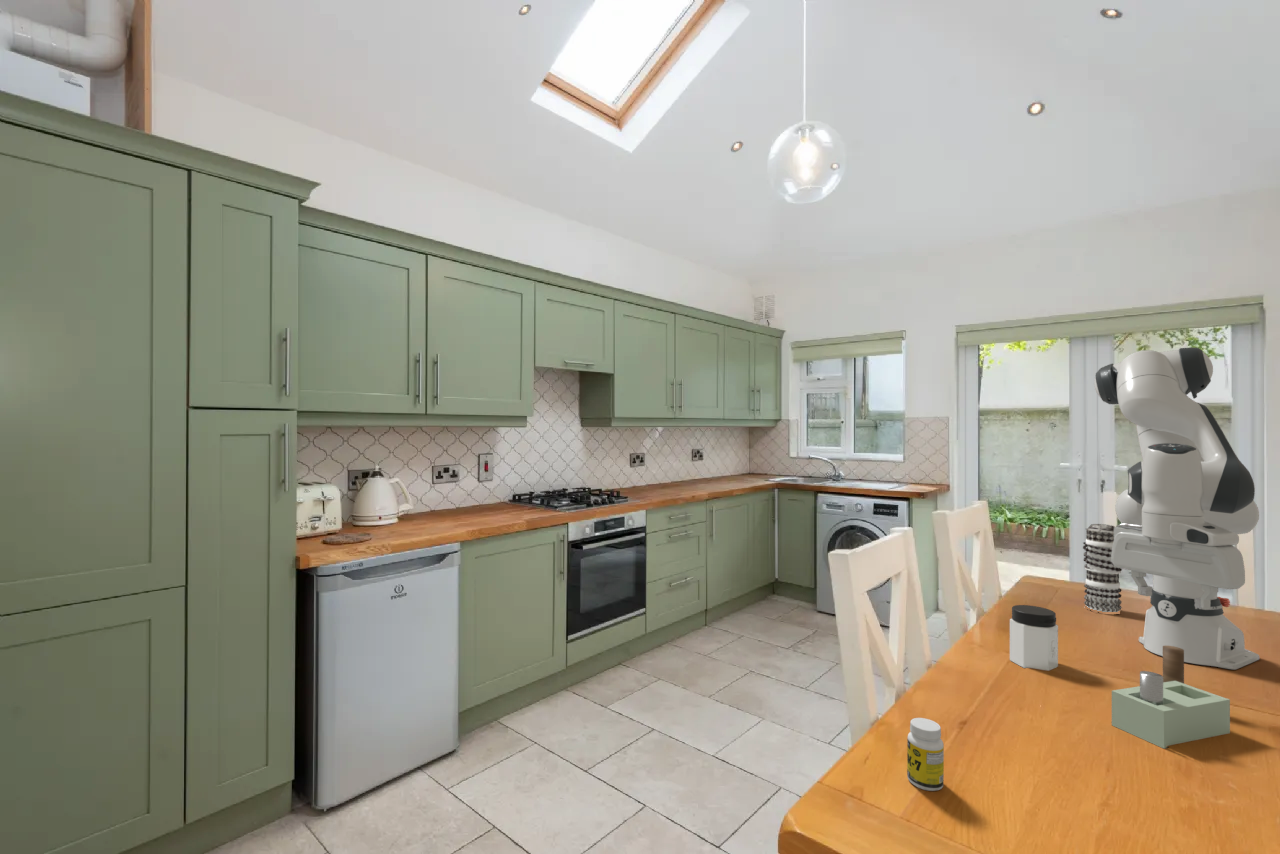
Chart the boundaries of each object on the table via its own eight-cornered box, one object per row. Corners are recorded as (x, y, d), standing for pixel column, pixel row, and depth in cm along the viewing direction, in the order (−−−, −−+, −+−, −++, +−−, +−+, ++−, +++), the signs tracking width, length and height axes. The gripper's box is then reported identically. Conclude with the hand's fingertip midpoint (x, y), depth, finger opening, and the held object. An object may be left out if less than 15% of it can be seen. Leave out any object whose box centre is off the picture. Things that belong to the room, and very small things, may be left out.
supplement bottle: (900, 773, 87) (901, 716, 87) (931, 772, 88) (931, 715, 88) (918, 793, 82) (919, 732, 83) (950, 791, 83) (950, 731, 83)
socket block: (1175, 713, 107) (1175, 680, 107) (1230, 735, 100) (1229, 699, 100) (1111, 725, 103) (1111, 690, 103) (1163, 748, 95) (1163, 711, 95)
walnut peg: (1169, 696, 113) (1169, 644, 113) (1188, 703, 110) (1187, 650, 111) (1158, 698, 112) (1158, 646, 113) (1177, 705, 110) (1176, 651, 110)
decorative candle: (1074, 607, 175) (1074, 523, 175) (1099, 605, 177) (1099, 522, 178) (1105, 616, 166) (1105, 527, 167) (1131, 614, 168) (1130, 527, 169)
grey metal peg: (1147, 728, 102) (1147, 670, 102) (1167, 736, 99) (1167, 677, 99) (1135, 730, 101) (1135, 672, 101) (1155, 739, 98) (1155, 679, 98)
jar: (1045, 675, 124) (1045, 618, 124) (1004, 662, 131) (1004, 608, 131) (1063, 666, 129) (1063, 611, 129) (1023, 654, 136) (1023, 602, 136)
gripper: (1103, 521, 121) (1103, 589, 121) (1226, 538, 101) (1227, 618, 101) (1125, 520, 123) (1125, 587, 123) (1250, 536, 103) (1251, 615, 103)
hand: (1172, 601), depth 112 cm, fingers open, 8 cm apart
